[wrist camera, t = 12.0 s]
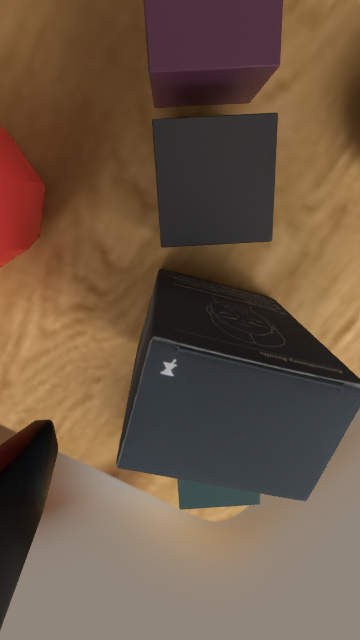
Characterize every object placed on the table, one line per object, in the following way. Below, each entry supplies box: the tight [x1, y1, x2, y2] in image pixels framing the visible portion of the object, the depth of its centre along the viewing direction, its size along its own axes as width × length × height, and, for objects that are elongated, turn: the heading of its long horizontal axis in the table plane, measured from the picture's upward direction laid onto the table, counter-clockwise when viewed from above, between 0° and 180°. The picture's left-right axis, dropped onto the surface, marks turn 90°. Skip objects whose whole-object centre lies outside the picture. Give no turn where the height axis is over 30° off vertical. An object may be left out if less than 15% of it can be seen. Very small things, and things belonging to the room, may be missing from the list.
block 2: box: [152, 113, 278, 247], centre depth 16 cm, size 5×5×5 cm
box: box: [116, 268, 360, 502], centre depth 16 cm, size 8×6×11 cm
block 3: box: [177, 478, 260, 509], centre depth 22 cm, size 5×5×5 cm
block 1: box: [144, 0, 283, 108], centre depth 14 cm, size 5×5×5 cm
